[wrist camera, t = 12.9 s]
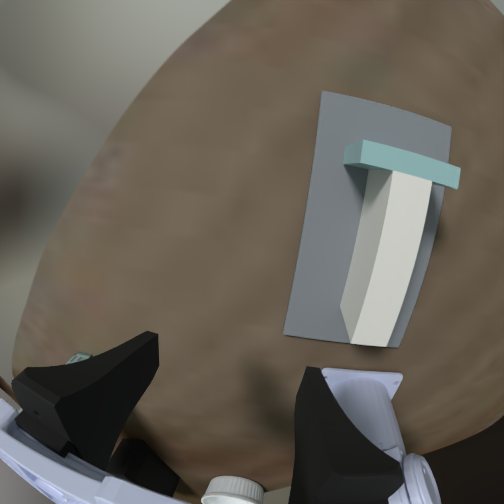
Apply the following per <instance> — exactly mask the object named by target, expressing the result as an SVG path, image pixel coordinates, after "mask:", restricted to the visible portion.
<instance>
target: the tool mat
mask: <svg viewBox="0 0 504 504" xmlns="http://www.w3.org/2000/svg"><path fill="white" fill-rule="evenodd" d="M361 140H368V141H372V142H376V143H380V144H384V145H388V146H392V147H396V148H399V149H403V150H406V151H410V152H413V153H417V154H420V155H423V156H426V157H429V158H432V159H436V160H439V161H442V162H444V163H447V164H448V161H449V151H450V141H451V127H450V126H448V125H445V124H443V123H440V122H437V121H435V120H432V119H429V118H426V117H423V116H420V115H417V114H414V113H411V112H408V111H405V110H402V109H398V108H395V107H392V106H388V105H384V104H381V103H377V102H373V101H369V100H365V99H361V98H357V97H352V96H347V95H343V94H338V93H333V92H327V91H322V92H321V100H320V108H319V117H318V125H317V133H316V141H315V149H314V156H313V164H312V171H311V177H310V184H309V191H308V197H307V204H306V210H305V216H304V222H303V228H302V234H301V240H300V246H299V252H298V257H297V263H296V268H295V273H294V279H293V284H292V289H291V294H290V299H289V304H288V309H287V314H286V319H285V324H284V329H283V334H284V335H291V336H297V337H304V338H311V339H319V340H327V341H335V342H343V343H350V340H349V336H348V332H347V329H346V325H345V322H344V318H343V315H342V311H341V308H340V304H341V300H342V296H343V293H344V289H345V285H346V281H347V277H348V273H349V269H350V264H351V260H352V256H353V251H354V247H355V242H356V237H357V233H358V228H359V223H360V217H361V212H362V207H363V201H364V195H365V189H366V183H367V177H368V170H369V169H364V168H360V167H355V166H350V165H345V164H343V161H344V154H345V147H346V146H348V145H351V144H353V143H356V142H358V141H361ZM444 189H445V187H443V186H437V185H432V186H431V192H430V198H429V203H428V209H427V214H426V219H425V223H424V228H423V232H422V237H421V241H420V245H419V249H418V253H417V257H416V260H415V264H414V268H413V271H412V275H411V278H410V281H409V285H408V288H407V291H406V294H405V297H404V300H403V303H402V306H401V309H400V312H399V315H398V318H397V320H396V323H395V326H394V328H393V331H392V334H391V336H390V339H389V341H388V344H387V346H386V347H397V348H398V347H399V345H400V343H401V340H402V338H403V335H404V333H405V330H406V328H407V325H408V323H409V320H410V317H411V315H412V312H413V309H414V306H415V303H416V301H417V298H418V295H419V292H420V289H421V285H422V282H423V279H424V276H425V272H426V269H427V265H428V262H429V258H430V255H431V251H432V247H433V243H434V239H435V235H436V230H437V226H438V221H439V217H440V212H441V206H442V201H443V195H444Z"/></svg>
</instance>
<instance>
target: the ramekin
mask: <svg viewBox="0 0 504 504" xmlns="http://www.w3.org/2000/svg"><path fill="white" fill-rule="evenodd" d="M263 495H264V492H263V488H262V487H261V486H260V485H259V484H258V483H256V482H254V481H252V480H250V479H247V478H243V477H238V476H218V477H215V478H213V479H212V480H211V482H210V484H209V486H208V488H207V491H206V493H205V495H204V496H203V497H202V499H201V501H202V503H203V504H263Z"/></svg>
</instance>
